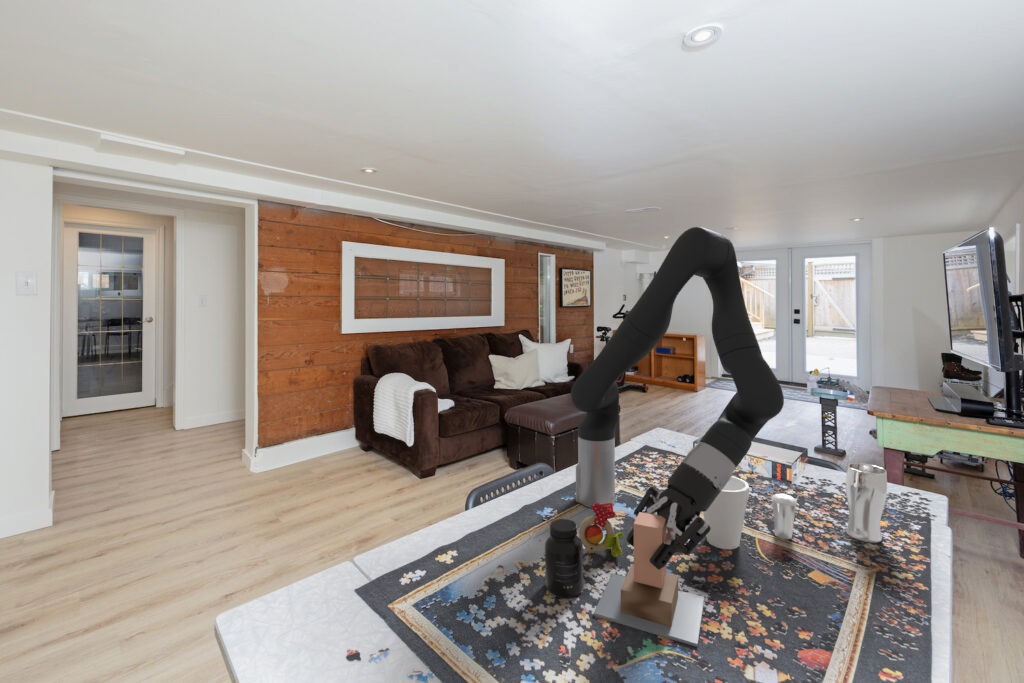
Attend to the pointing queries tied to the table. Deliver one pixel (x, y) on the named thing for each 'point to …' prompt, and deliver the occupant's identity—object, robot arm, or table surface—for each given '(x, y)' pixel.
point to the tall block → (648, 548)
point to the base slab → (650, 599)
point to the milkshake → (784, 514)
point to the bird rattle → (600, 530)
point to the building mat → (682, 625)
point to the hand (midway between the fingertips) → (641, 554)
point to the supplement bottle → (564, 559)
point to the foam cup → (727, 514)
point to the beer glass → (865, 500)
